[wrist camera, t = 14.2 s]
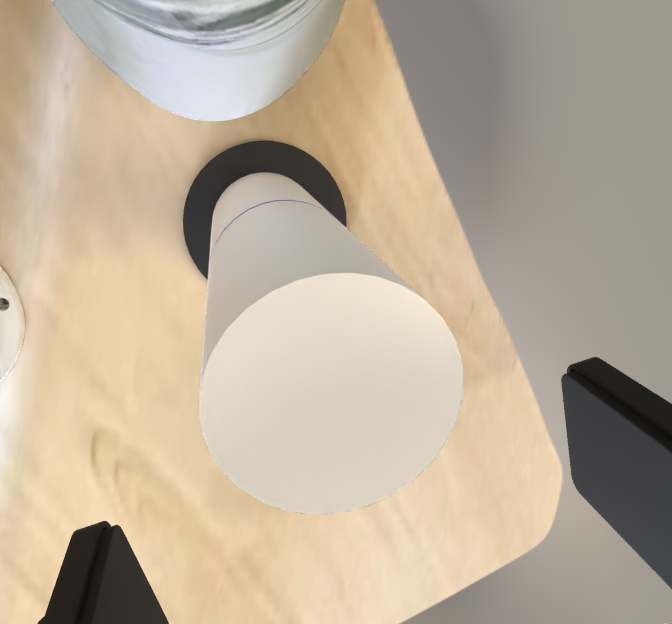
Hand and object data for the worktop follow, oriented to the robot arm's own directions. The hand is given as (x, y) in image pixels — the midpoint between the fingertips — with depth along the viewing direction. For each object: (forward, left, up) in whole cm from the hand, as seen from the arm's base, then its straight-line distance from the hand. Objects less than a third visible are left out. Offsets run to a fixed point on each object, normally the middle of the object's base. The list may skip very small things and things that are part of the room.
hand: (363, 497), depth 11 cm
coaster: (0, 0, -29) cm, 29 cm away
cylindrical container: (0, 0, -29) cm, 29 cm away
